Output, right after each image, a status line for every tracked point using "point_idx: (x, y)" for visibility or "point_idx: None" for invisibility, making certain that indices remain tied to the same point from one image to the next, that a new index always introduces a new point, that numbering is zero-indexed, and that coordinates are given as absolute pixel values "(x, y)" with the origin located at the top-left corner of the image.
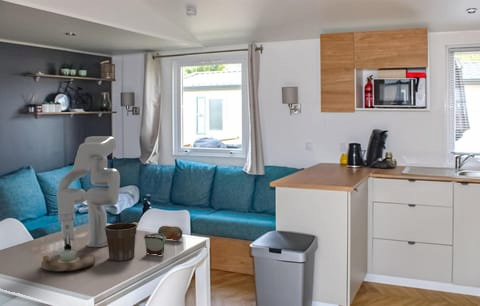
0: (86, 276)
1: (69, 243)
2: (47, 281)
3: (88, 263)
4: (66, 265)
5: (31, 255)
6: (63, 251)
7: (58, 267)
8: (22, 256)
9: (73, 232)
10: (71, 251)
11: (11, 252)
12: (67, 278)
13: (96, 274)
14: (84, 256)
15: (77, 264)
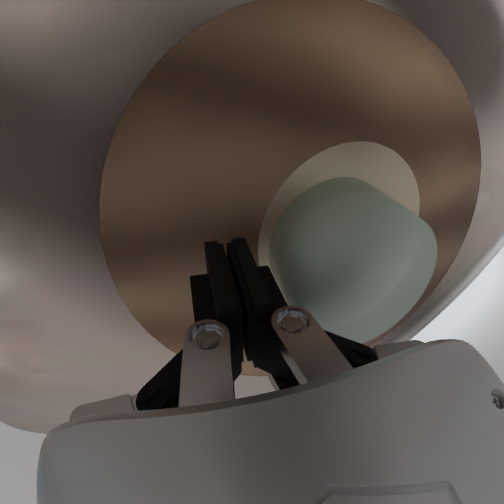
0: (494, 143)
1: (368, 349)
2: (450, 280)
3: (470, 110)
4: (442, 241)
5: (51, 395)
6: (364, 325)
7: (439, 276)
8: (68, 412)
9: (498, 472)
10: (414, 257)
11: (33, 424)
12: (473, 216)
13: (495, 98)
14: (321, 87)
15: (464, 180)
